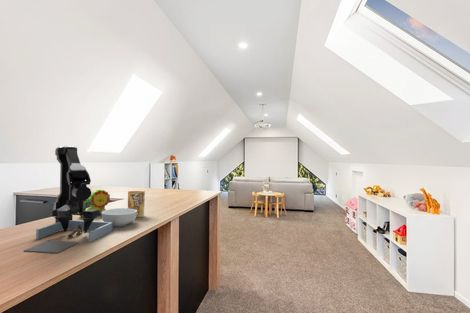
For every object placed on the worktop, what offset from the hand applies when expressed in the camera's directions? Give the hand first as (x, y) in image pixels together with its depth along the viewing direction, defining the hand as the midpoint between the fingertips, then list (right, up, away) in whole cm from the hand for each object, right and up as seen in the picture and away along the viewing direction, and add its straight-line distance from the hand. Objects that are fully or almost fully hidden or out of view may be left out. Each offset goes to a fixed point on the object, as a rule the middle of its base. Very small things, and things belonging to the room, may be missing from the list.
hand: (75, 232), depth 108 cm
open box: (0, -1, +1) cm, 2 cm away
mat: (+1, -1, -15) cm, 15 cm away
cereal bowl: (+10, -2, +19) cm, 22 cm away
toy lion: (-12, -2, +37) cm, 39 cm away
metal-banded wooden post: (0, -2, 0) cm, 2 cm away
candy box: (+12, -2, +37) cm, 39 cm away
